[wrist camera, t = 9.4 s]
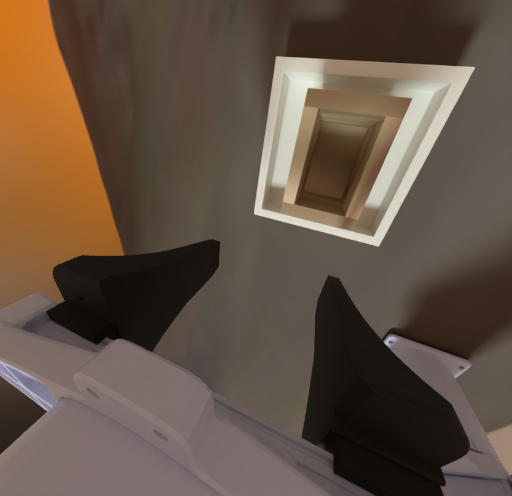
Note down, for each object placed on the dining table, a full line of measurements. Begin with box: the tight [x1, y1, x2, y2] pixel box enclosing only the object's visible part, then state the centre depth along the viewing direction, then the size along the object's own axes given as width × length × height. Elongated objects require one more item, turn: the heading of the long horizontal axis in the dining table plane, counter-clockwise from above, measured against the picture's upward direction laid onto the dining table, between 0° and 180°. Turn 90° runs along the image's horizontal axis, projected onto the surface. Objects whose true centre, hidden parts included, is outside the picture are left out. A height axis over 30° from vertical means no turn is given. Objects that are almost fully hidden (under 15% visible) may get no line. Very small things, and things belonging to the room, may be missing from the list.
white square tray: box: [254, 56, 475, 246], centre depth 16 cm, size 11×11×3 cm
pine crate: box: [280, 88, 412, 231], centre depth 14 cm, size 7×5×6 cm
